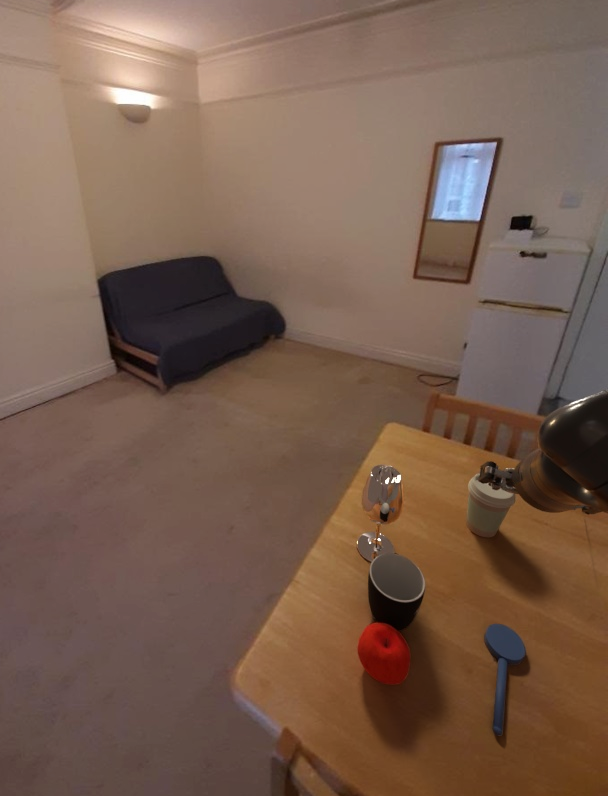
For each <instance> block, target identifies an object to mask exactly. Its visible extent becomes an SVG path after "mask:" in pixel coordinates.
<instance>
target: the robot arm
mask: <svg viewBox="0 0 608 796" xmlns="http://www.w3.org/2000/svg"><path fill="white" fill-rule="evenodd" d="M536 433H537V434H536V442H537V445H538V448H536V449H534V450H533V451H532V452H530V453H529V454H528V455H526V456H525V457H524V458H522V460H520V461H519V462H518V463H517V464H516V465H515V467H514V468H513V467H505V468H504V469H500V468H499V465H497V462H494V461H492V460H490V461H489V460H488V461H486V462H484V463H483V464H481V465H480V471H479V473H480V475H479V479H478V481H479V482H481V483H483V484H484V483H485V484H487V483H489V484H488V485H489V486H492V489H494V490H499V489H500V488H501V489H502V490H504V491H507V492H509V493H514V494H515V495H519V497H520V498H521V499H522V500H523V501H524V502H525V503H527V505H529V506H530V507H533V508H534V509H536V510H538V511H541V512H545V513H550V514H551V513H552V514H559V513H564V512H569V511H576V510H579V509H581V513H584V514H585V515H596V514H599V513H605V514H608V388H606V389H604V390H601V391H598V392H596V393H594V394H591V395H588V396H585V397H581V398H579V399H577V400H573V401H571V402H569V403H566V404H565V405H562V406H560V407H558V408H557V409H555V410H553V411H552V412H550V413H549V414H548V415H547V416H546V417H545V418H544V419H543V420H542V421H541V423H540V424H539V426H538V430H537V432H536ZM502 478H503V481H502ZM501 482H502V483H501Z"/></svg>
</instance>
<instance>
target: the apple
mask: <svg viewBox="0 0 608 796" xmlns="http://www.w3.org/2000/svg"><path fill="white" fill-rule="evenodd" d="M357 655H358V659H359V661H360V663H361V666H362V667H363V669H364V670H365V671H366V672H367V673H368V674H369V676H371V677H372V679H374V680H376V682H380V683H381V684H387V685H399V684H401V683H403V682H404V681H405V680H406V678H407V676H408V674H409V671H410V666H411V650H410V647H409V644H408V642H407V641H406V640H405V638H404V636H403V635H402V633H401V631H397V630H396V629H395V628H393V627H392V626H391V625H388V624H386V623H378V622H374V623H373V622H372V623H370V624H368V625H367V626H366V627H365V628H364V629H363V631H362V633H361V635H360V636H359V638H358V644H357Z"/></svg>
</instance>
